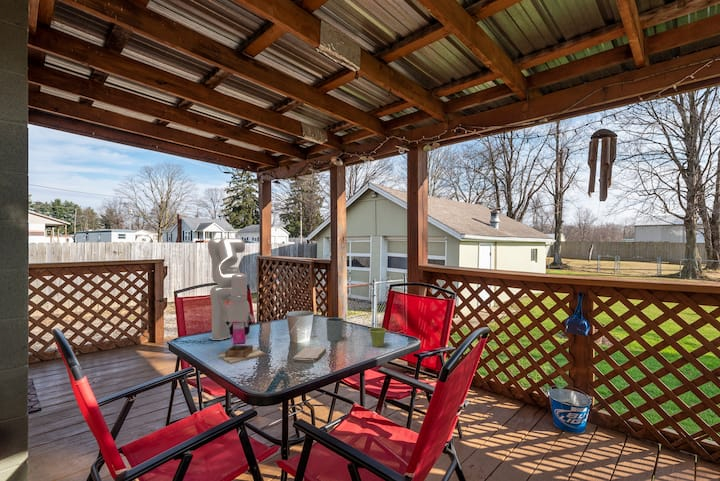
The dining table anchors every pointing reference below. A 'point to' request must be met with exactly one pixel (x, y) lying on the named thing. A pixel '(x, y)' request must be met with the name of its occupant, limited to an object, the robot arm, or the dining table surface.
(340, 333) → the grey green embossed cup
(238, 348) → the collar holder
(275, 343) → the dining table surface
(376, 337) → the plant pot
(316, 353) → the washcloth
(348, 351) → the dining table surface
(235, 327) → the supplement box
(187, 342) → the dining table surface
